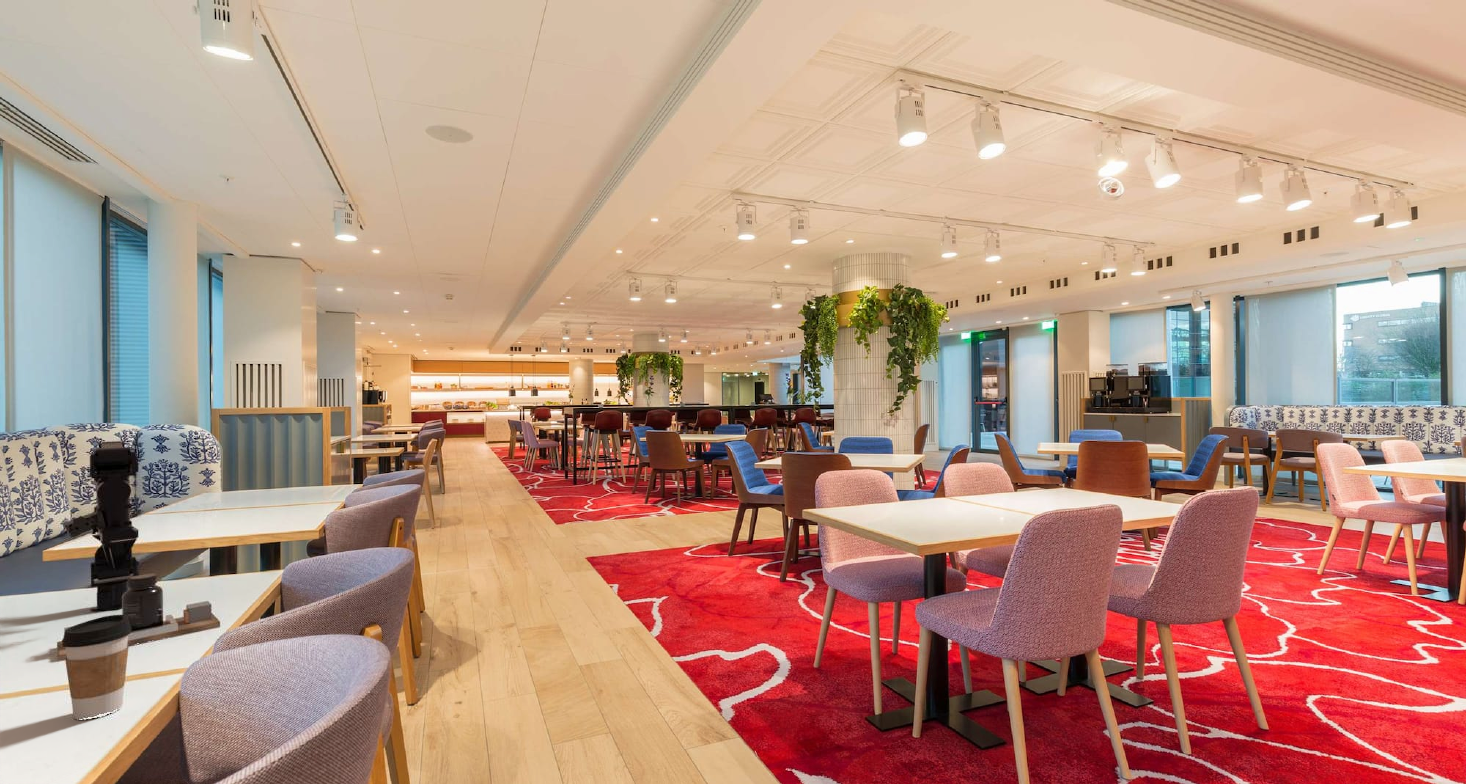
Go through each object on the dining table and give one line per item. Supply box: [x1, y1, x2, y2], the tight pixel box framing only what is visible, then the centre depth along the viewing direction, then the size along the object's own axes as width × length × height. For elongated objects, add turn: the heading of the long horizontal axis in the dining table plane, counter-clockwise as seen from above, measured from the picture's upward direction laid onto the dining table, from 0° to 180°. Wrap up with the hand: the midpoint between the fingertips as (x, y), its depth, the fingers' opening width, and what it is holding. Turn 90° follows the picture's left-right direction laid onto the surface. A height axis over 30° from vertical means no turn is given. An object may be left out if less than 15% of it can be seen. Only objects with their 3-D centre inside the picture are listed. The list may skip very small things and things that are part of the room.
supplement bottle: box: [121, 573, 164, 632], centre depth 148 cm, size 7×7×12 cm
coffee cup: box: [61, 614, 131, 720], centre depth 112 cm, size 8×8×15 cm
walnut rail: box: [56, 600, 221, 662], centre depth 148 cm, size 26×11×5 cm, turn 137°
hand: (114, 566), depth 159 cm, fingers open, 9 cm apart
